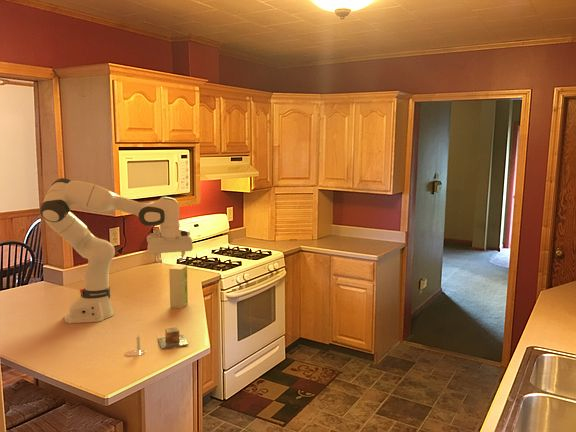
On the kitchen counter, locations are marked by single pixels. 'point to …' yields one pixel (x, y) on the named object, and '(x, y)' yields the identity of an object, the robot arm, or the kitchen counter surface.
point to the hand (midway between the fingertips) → (170, 261)
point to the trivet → (164, 344)
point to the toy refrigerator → (178, 286)
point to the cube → (172, 335)
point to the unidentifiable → (135, 352)
